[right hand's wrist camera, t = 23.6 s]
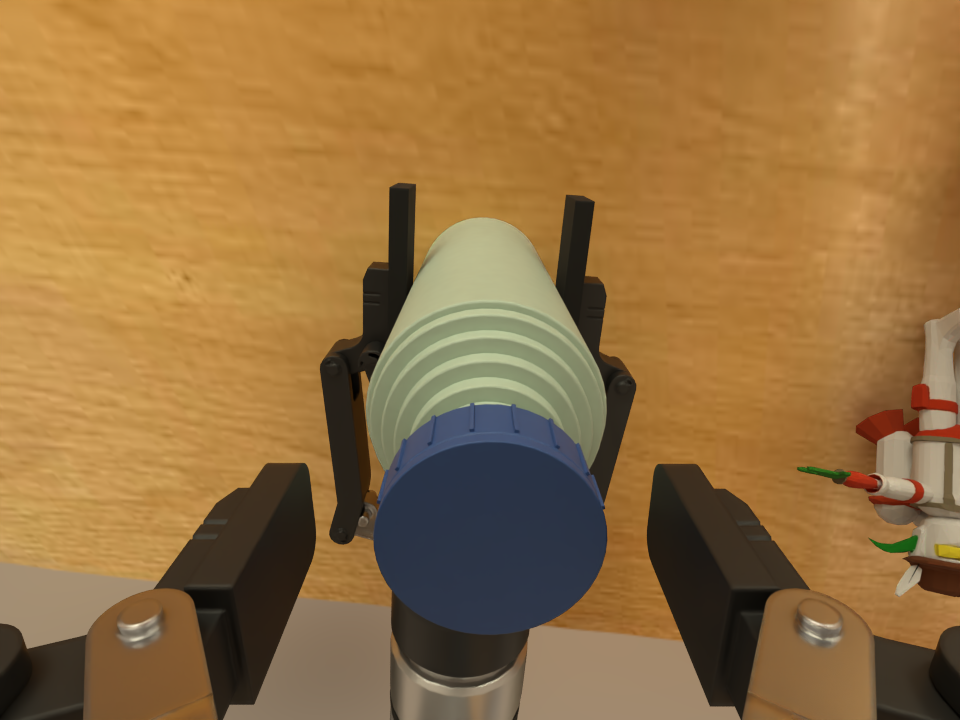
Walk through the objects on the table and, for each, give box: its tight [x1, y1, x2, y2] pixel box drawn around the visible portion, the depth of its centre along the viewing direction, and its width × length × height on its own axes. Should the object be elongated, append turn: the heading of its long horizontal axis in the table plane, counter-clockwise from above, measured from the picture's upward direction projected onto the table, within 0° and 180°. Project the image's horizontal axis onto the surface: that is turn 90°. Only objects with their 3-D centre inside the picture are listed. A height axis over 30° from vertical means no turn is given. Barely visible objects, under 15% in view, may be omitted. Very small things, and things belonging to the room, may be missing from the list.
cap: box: [373, 403, 607, 635], centre depth 12 cm, size 4×4×2 cm
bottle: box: [366, 217, 607, 471], centre depth 22 cm, size 6×6×22 cm
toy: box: [797, 308, 960, 597], centre depth 32 cm, size 16×6×15 cm
